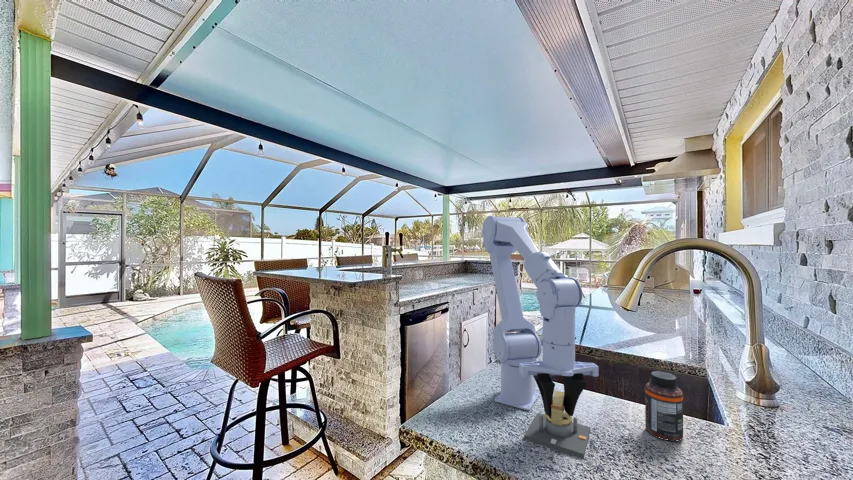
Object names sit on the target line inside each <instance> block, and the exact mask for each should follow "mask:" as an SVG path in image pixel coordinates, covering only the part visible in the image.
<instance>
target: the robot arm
mask: <svg viewBox="0 0 853 480" xmlns="http://www.w3.org/2000/svg"><path fill="white" fill-rule="evenodd" d="M528 225H529V224H528V223H527V222H526V220H525V219H524V217H521V216H516V217H514V216H493V215H488V216H486V217H485V219H484V221H483V223H482V227H481V228H482V229H481V234H482V240H483V245H484V250H485V252H486V253H488V254H489V259H490V263H491V269H492V274H493V275H492V276H493V280H494V281H493V282H494V284H495V290H496V296H497V302H498V306H499V307H498V308H499V311H500V317H501V321H500V322H498V323H497V325H496V326H495V327H494V328H493V330H492V334H493V335H492V336H493V338H492V339H493V341H492V347H493V353H494V355H495V357H496V358H497V360H498V361H500V392H499V394H498V395H496V397H495V398H494V402H495V403H499V404H503V405H505V406H510V407H514V408H518V409H520V410H524V411H530V410H531V409H532V408H533V406H534V405H535V403H536V401H537V400H538V398H539V397H541V399H542V403H543V409H544V414H545V413H546V414H547V415H548V416H551V404H552V402H553V397H554V392H555V387H556V384H555V382H554V381H553V380H552V377H551V376H561V378H562V383H563V392H564V412H566V413H567V414H568V415H569V416H571V417H574V413H575V410H576V406H577V403H578V401H579V398H580V396H581V394H582V392H583V391H584V389H586V387H587V384H588V383H587V379H586V378H585V377H584V376H591V377H599V372H600V371H599V369H600V368H599V365H597V364H596V363H594V362H582V361H576V308H577V307H579V306H580V305H581V304H582V301H583V289H582V286H581V284H580V283H579V280H578V279H576V278H575V277H572V276H570V277H569V276H568V275H567V274H564V273H563V272H562V270H561V269H560V268H559V267H558V266H557V264H556V263H555V261H554V260H553V259H552V258H551V257H552V256H551V255H550V254H549V253H548V252H545V251H539V249H538V248H537V246H536V245H535V243H534V241H533V240H532V238H531V236H530V235H529V233H528V232H529V230H528V229H529V227H528ZM516 252H518V254H519V255H520V257H522V258H523V260H524V263H523V269H524V270H525V272H526V273H527V275H528V277H529V278H530V280H531V282H533V284H534V286H535V287H536V289H537V290H536V293H535V294H536V300H537V302H538V305H539V313H540V315H541V317H542V341H541V339H540V337H539V335H538V333H537V331H536V327H535V325H534V324H533V323H532V322H531V321H529V320H527V319H526V318H525V317H524V314H523V309H522V305H521V300H520V295H519V291H518V285H517V281H516V276H515V271H514V267H513V261H512V254H514V253H516ZM541 354H542V360H537V359H538V358H540V356H541ZM536 385H537V389H538V390H539V392H536ZM538 396H539V397H538ZM536 399H537V400H536ZM534 402H535V403H534Z"/></svg>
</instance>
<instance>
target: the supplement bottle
mask: <svg viewBox="0 0 853 480" xmlns="http://www.w3.org/2000/svg"><path fill="white" fill-rule="evenodd" d="M650 379H651V380H650V381H648V382H647V383H645V387H644V390H645V391H644V392H645V393H644V394H645V395H644V396H645V397H644V398H645V399H644V401H645V402H644V403H645V404H644V405H645V406H644V407H645V410H644V411H645V413H644V416H645V419H644V421H645V429H646V430H647V432H648V431H649V432H650V434H651V433H652V434H653V436H654V435H655V436H654V437H656V436H657V437H656V438H658V437H660V438H663V439H668V440H679V441H681V440H682V439H683V438H684V394H683V391H682V390H681V388H679V387H678V386H677V376H676V375H674V374H671V373H669V372H664V371H659V370H656V371H652V372H651V373H650ZM649 432H648V433H649ZM652 434H651V435H652ZM660 438H659V439H660ZM663 439H662V440H663ZM680 439H681V440H680Z"/></svg>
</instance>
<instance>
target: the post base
mask: <svg viewBox="0 0 853 480" xmlns="http://www.w3.org/2000/svg"><path fill="white" fill-rule="evenodd" d="M589 434H590V435H591V426H588V425H584V424H580V423H578V417H577V416H572V423H571V424H570V425H566V426H561V425H556V424H553V423H551V422H549V421H547V420H546V418H545V413H540V412H537V413H536V415H535V417H534V419H532V421H531V423H530V424H529V427H528V428H527V430H526V431H525V433H524V436H523V440H524V441H527V442H530V443H534V444H536V445H540V446H543V447H546V448H549V449H552V450H555V451H559V452H562V453H564V454H568V455H570V456H574V457H577V458H580V459H583V460H584V459H585V457H586V456H585V455H586V452H585V451H587V448H586V447H588V443H589V439H590V435H589Z"/></svg>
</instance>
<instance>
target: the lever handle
mask: <svg viewBox="0 0 853 480" xmlns="http://www.w3.org/2000/svg"><path fill="white" fill-rule="evenodd" d="M544 415H545V418H546V420H547V421H549V422H551V423H553V424H556V425H561V426H566V425H570V424H571V423H572V422H573V416H569V415H568V414H567V413H566V412H565V409H564V391H559V390H554V393H553V402H552V404H551V416H548V415H547V414H546V413H545V412H544Z"/></svg>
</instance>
